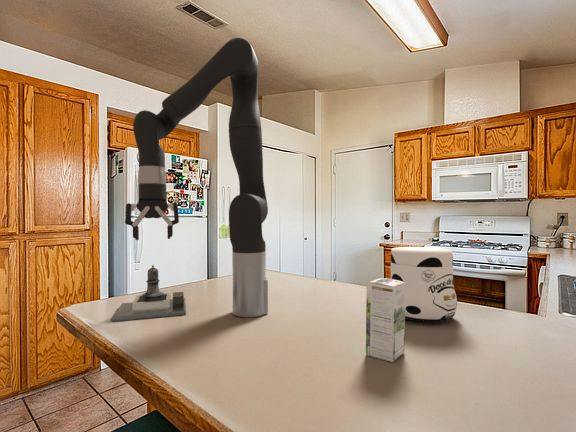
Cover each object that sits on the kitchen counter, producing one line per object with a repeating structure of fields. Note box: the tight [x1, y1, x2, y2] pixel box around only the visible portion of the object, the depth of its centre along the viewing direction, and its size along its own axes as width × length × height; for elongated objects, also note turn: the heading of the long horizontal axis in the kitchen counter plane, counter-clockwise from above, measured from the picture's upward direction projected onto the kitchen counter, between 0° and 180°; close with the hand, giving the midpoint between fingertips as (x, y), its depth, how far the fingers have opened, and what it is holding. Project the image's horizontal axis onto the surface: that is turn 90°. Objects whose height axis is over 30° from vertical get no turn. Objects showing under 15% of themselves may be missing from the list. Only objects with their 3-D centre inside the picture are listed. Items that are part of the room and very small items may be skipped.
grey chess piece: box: [141, 264, 164, 302], centre depth 97 cm, size 6×6×12 cm
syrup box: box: [365, 277, 406, 363], centre depth 66 cm, size 6×6×14 cm
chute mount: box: [112, 291, 187, 322], centre depth 97 cm, size 18×14×4 cm
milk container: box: [389, 246, 458, 323], centre depth 91 cm, size 17×17×18 cm
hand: (153, 239), depth 98 cm, fingers open, 8 cm apart
